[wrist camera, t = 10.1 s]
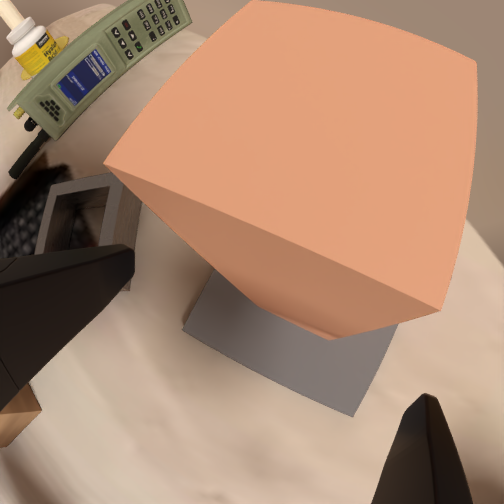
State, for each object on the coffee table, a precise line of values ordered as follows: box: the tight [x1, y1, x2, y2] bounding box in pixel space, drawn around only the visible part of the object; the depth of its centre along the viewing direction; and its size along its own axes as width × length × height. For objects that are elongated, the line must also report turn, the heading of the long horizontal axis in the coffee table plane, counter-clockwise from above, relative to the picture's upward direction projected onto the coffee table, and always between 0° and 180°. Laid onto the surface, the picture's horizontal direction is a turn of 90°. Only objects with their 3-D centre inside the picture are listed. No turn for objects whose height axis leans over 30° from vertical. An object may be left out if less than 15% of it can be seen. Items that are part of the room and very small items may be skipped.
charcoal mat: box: [182, 269, 399, 417], centre depth 16 cm, size 10×10×1 cm
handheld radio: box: [7, 0, 192, 179], centre depth 22 cm, size 7×3×25 cm
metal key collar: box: [34, 172, 142, 291], centre depth 18 cm, size 12×13×2 cm
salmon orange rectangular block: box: [103, 0, 477, 341], centre depth 9 cm, size 4×4×13 cm
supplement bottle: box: [6, 17, 62, 79], centre depth 25 cm, size 5×5×10 cm
